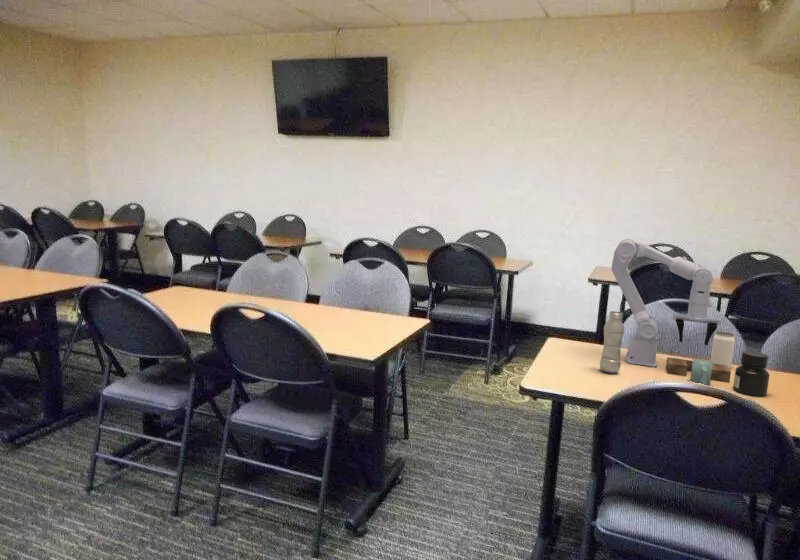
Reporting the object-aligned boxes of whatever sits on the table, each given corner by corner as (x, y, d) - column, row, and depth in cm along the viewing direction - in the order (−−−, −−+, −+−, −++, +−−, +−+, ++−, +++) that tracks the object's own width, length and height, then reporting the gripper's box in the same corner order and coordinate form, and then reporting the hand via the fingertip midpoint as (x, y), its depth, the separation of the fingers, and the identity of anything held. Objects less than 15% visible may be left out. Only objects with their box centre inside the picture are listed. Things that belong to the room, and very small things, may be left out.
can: (733, 370, 195) (738, 336, 193) (713, 368, 196) (718, 335, 195) (727, 365, 202) (731, 332, 200) (707, 363, 203) (711, 330, 201)
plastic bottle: (620, 371, 188) (627, 311, 185) (619, 376, 182) (625, 315, 179) (600, 367, 191) (606, 309, 188) (597, 373, 185) (604, 312, 182)
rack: (667, 373, 188) (668, 363, 188) (665, 367, 196) (667, 357, 195) (729, 382, 182) (730, 372, 181) (725, 375, 189) (726, 365, 189)
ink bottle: (740, 384, 180) (746, 348, 178) (771, 393, 173) (777, 355, 171) (727, 390, 174) (732, 352, 172) (758, 399, 167) (764, 359, 166)
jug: (692, 388, 174) (695, 366, 173) (689, 378, 184) (691, 357, 183) (713, 391, 172) (716, 369, 171) (708, 381, 182) (711, 360, 181)
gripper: (675, 302, 189) (670, 342, 192) (724, 308, 184) (719, 348, 186) (674, 299, 196) (669, 337, 198) (721, 304, 190) (716, 344, 193)
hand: (693, 343), depth 192 cm, fingers open, 7 cm apart
